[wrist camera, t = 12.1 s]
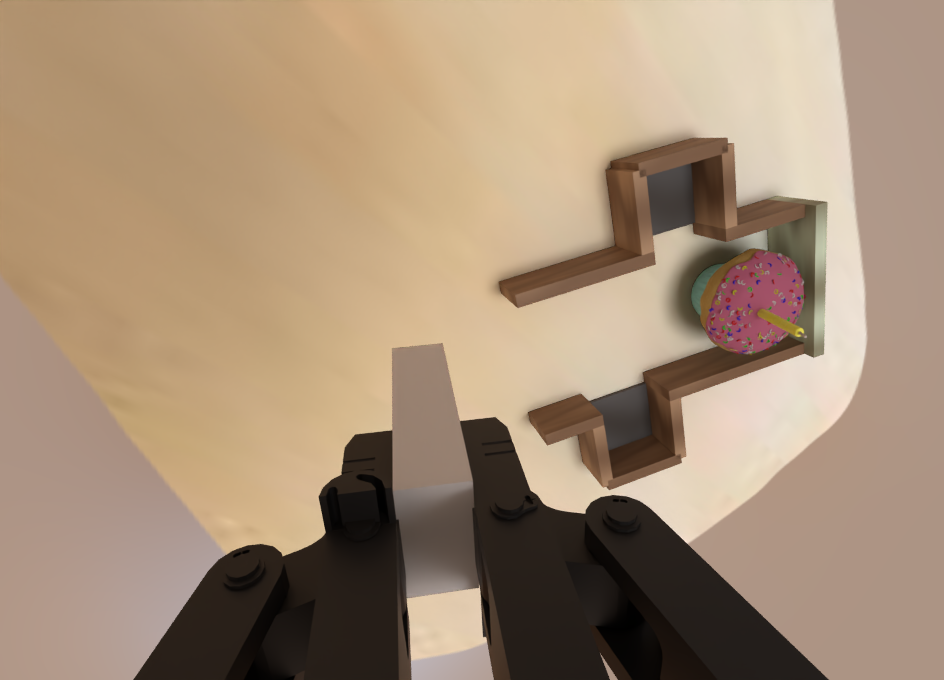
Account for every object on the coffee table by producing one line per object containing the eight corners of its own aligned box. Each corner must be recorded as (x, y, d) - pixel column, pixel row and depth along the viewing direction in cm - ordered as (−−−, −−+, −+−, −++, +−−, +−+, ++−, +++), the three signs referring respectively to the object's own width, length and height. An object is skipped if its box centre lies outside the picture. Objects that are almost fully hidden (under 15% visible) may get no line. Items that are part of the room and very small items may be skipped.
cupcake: (668, 342, 48) (769, 400, 37) (674, 246, 45) (786, 279, 34) (752, 327, 50) (872, 379, 39) (763, 234, 47) (897, 262, 36)
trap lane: (480, 198, 40) (499, 205, 35) (776, 114, 43) (829, 111, 39) (543, 481, 50) (565, 515, 45) (779, 394, 53) (822, 418, 49)
